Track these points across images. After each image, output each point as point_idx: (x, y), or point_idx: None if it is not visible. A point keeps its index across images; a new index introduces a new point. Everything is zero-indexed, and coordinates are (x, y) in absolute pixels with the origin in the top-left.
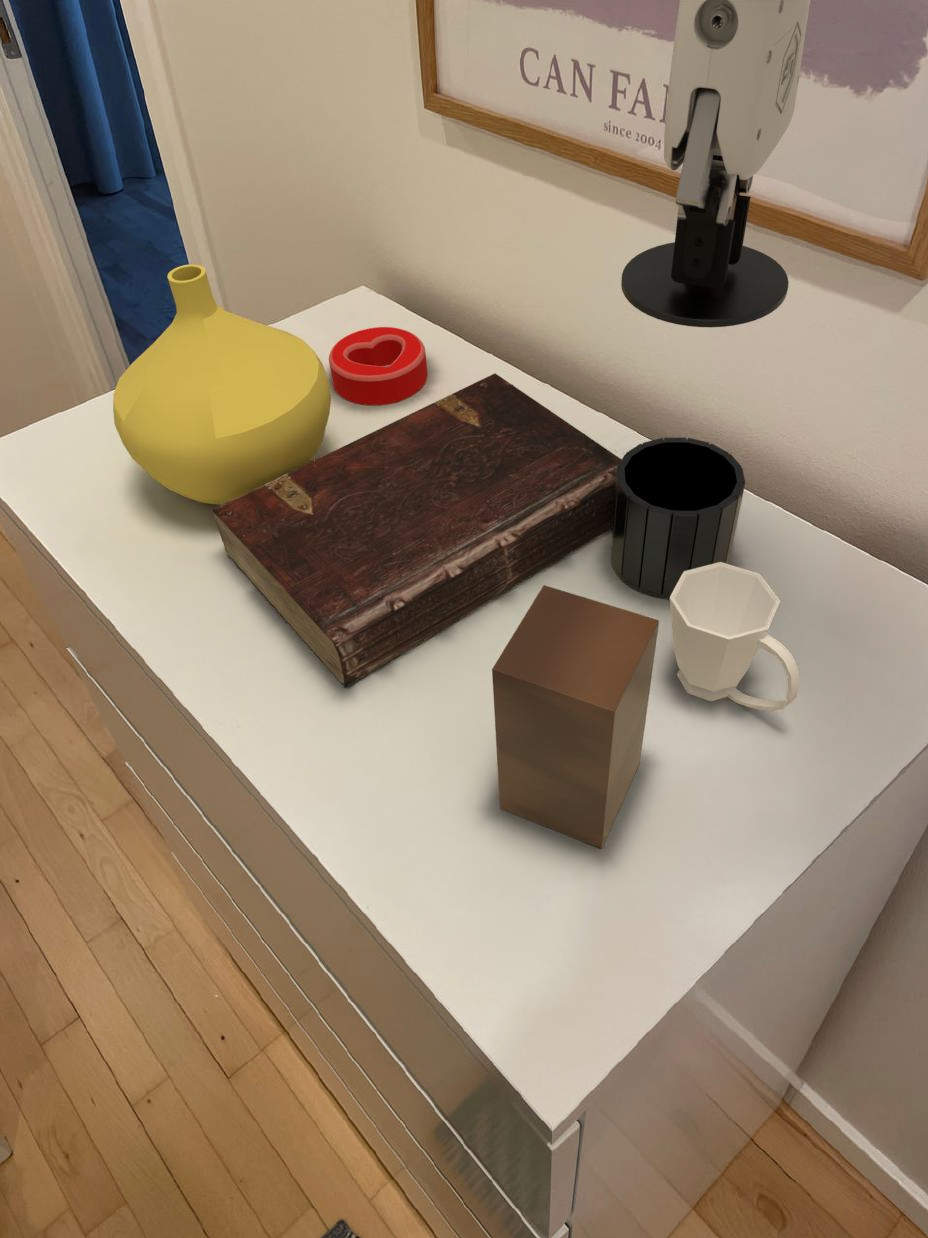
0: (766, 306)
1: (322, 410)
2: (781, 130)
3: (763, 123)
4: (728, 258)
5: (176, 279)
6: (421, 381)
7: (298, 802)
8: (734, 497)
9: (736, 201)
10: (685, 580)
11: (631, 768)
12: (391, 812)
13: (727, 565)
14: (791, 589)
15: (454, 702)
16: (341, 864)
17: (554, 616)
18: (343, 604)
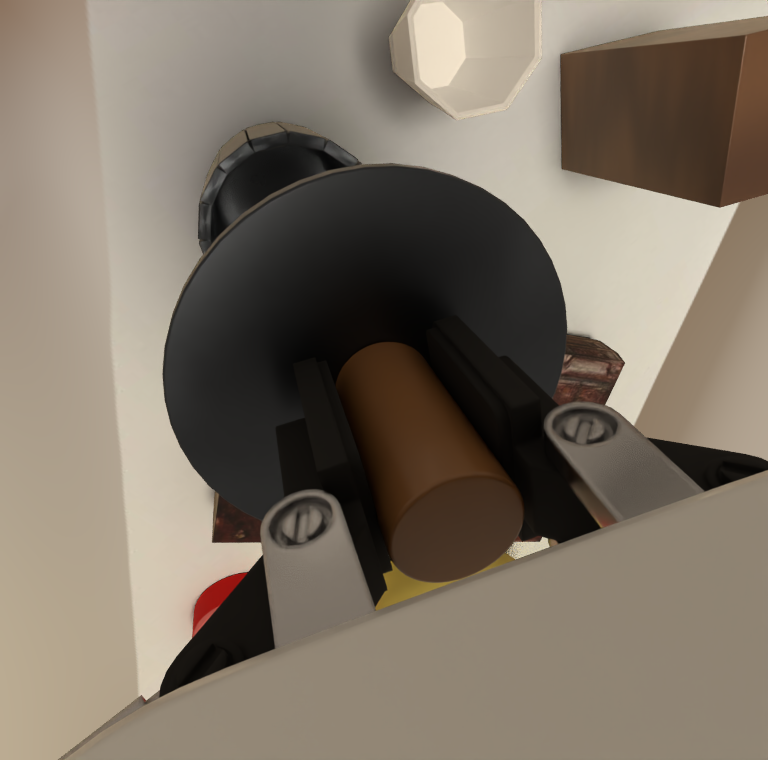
0: (435, 181)
1: (419, 585)
2: (442, 655)
3: None
4: (474, 346)
5: None
6: (229, 582)
7: (690, 284)
8: (291, 136)
9: (365, 483)
10: (462, 110)
11: (611, 44)
12: (678, 220)
13: (418, 69)
14: (221, 23)
15: (567, 257)
16: (726, 218)
17: (763, 163)
18: (584, 391)
